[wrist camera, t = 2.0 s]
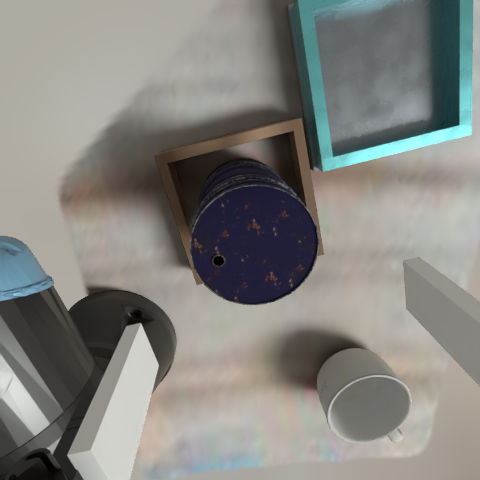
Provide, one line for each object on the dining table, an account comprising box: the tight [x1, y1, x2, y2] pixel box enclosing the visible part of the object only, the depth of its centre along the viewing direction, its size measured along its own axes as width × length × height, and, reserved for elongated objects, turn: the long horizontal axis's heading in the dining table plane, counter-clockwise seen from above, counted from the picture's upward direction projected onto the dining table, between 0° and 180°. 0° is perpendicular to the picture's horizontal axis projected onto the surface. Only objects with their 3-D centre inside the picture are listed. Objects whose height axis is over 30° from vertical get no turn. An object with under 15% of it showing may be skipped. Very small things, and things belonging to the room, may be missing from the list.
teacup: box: [317, 348, 412, 444], centre depth 45 cm, size 14×11×8 cm
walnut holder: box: [154, 118, 324, 285], centre depth 37 cm, size 15×15×4 cm
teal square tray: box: [286, 0, 473, 172], centre depth 33 cm, size 16×16×4 cm
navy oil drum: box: [190, 158, 319, 305], centre depth 31 cm, size 10×10×15 cm
